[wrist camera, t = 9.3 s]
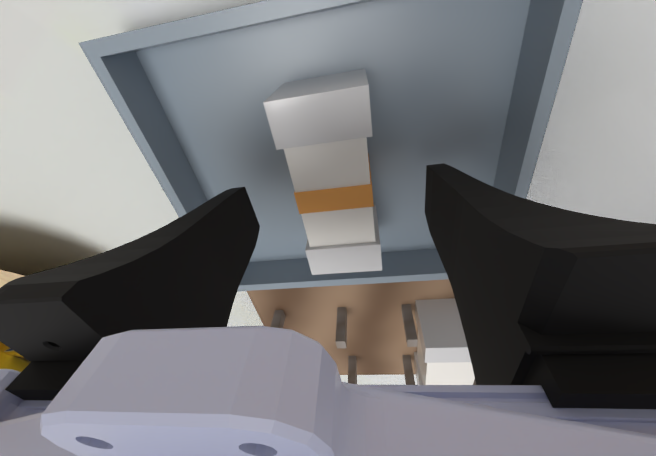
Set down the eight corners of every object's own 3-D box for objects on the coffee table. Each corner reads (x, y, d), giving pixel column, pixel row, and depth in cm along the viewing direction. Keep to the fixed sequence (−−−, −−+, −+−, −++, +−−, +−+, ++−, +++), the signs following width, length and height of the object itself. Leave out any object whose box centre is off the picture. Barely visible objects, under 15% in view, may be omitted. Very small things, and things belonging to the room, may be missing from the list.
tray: (550, -57, 9) (605, -77, 7) (485, 245, 17) (503, 276, 15) (125, 38, 12) (78, 42, 10) (236, 263, 19) (222, 292, 17)
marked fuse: (364, 68, 11) (368, 84, 9) (377, 227, 16) (382, 270, 13) (283, 82, 12) (263, 102, 9) (318, 232, 16) (312, 274, 14)
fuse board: (507, 261, 17) (538, 310, 15) (479, 362, 24) (495, 408, 22) (250, 278, 20) (232, 322, 17) (290, 364, 27) (283, 405, 24)
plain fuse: (469, 297, 18) (490, 346, 15) (457, 361, 23) (470, 408, 20) (415, 300, 19) (425, 348, 16) (413, 362, 23) (421, 407, 21)
